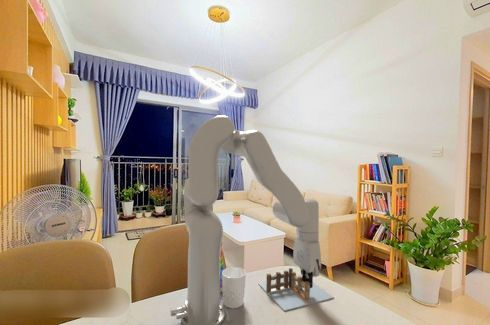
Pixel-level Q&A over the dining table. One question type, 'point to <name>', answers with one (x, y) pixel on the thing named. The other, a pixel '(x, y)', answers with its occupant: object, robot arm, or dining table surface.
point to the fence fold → (300, 285)
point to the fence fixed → (279, 280)
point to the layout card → (295, 296)
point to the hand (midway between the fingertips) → (307, 287)
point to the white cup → (233, 287)
